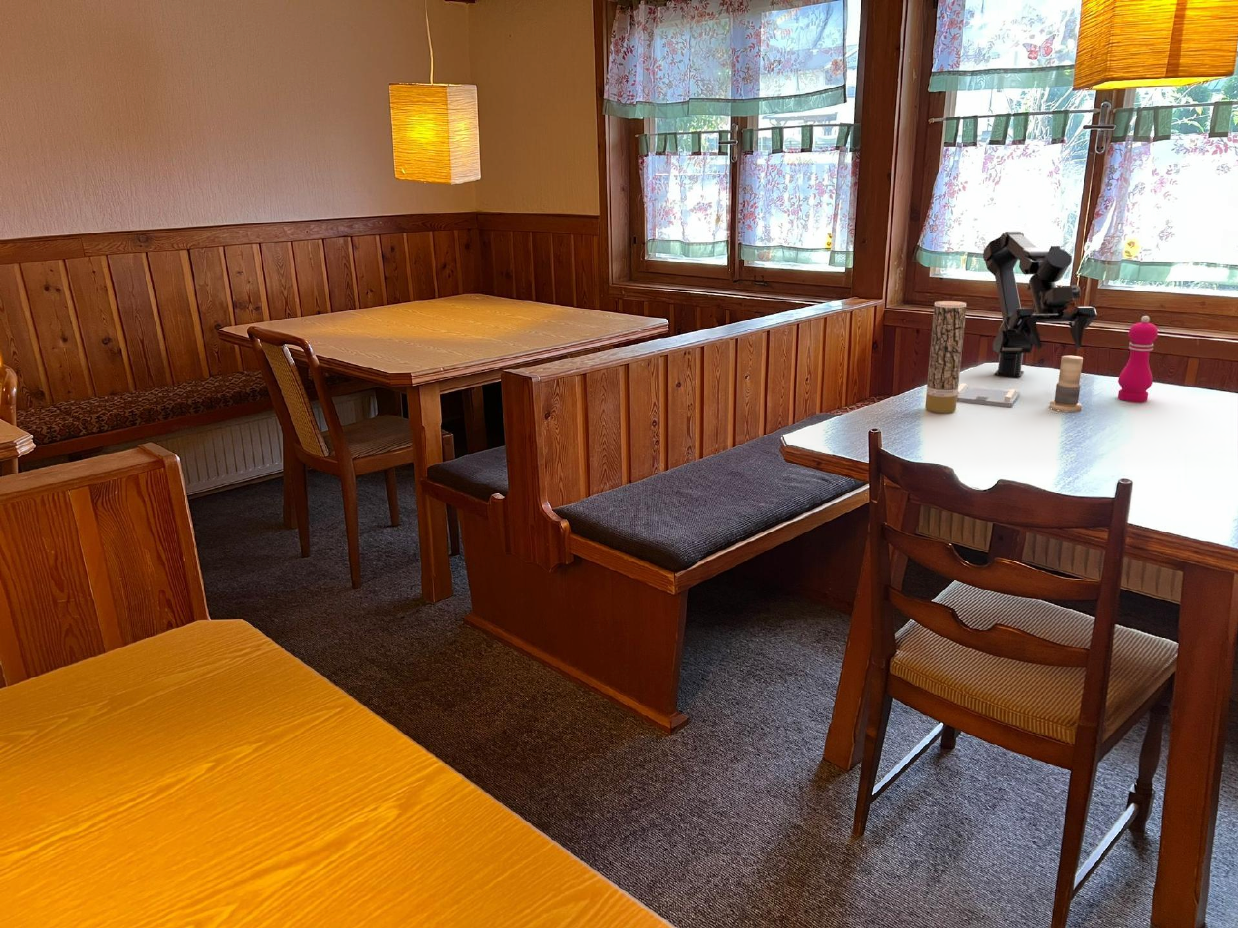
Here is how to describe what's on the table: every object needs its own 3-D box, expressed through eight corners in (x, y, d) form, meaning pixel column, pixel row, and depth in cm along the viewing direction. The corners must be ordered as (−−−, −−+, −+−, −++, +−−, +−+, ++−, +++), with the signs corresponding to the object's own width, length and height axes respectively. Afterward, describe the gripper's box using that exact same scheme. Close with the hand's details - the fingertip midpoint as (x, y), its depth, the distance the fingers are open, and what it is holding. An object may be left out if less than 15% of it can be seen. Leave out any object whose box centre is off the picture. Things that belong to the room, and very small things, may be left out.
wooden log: (959, 414, 209) (971, 305, 201) (930, 414, 209) (940, 306, 201) (950, 406, 215) (960, 300, 207) (921, 407, 215) (930, 301, 207)
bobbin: (1051, 403, 216) (1058, 353, 212) (1082, 406, 213) (1090, 356, 209) (1047, 409, 211) (1054, 359, 207) (1079, 413, 207) (1087, 361, 204)
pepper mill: (1115, 400, 217) (1128, 317, 211) (1115, 393, 223) (1128, 312, 217) (1149, 403, 214) (1164, 319, 207) (1149, 396, 220) (1163, 314, 213)
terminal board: (960, 390, 230) (960, 381, 229) (1019, 396, 223) (1020, 387, 222) (949, 400, 220) (950, 392, 219) (1011, 407, 213) (1012, 398, 213)
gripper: (1019, 274, 214) (1032, 328, 207) (1098, 272, 214) (1115, 327, 207) (1002, 302, 224) (1015, 355, 217) (1078, 301, 224) (1093, 354, 217)
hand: (1059, 347), depth 214 cm, fingers open, 9 cm apart
